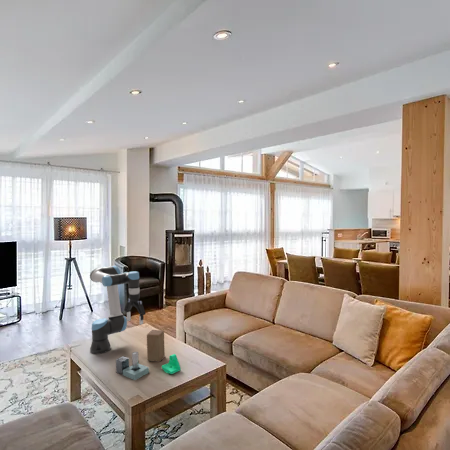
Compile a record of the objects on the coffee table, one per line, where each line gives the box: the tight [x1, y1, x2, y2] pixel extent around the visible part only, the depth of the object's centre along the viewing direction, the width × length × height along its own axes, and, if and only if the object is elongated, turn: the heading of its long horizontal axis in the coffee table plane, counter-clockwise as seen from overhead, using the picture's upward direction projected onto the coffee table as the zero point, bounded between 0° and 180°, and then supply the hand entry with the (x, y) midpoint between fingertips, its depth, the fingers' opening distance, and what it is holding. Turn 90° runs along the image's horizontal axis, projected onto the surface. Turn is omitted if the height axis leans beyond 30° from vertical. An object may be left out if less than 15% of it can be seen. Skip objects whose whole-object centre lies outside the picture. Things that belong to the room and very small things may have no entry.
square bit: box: [115, 355, 130, 376], centre depth 220 cm, size 6×6×9 cm
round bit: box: [131, 351, 140, 371], centre depth 217 cm, size 4×4×14 cm
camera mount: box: [161, 353, 182, 375], centre depth 221 cm, size 12×8×10 cm, turn 45°
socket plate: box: [122, 363, 150, 381], centre depth 217 cm, size 12×12×4 cm
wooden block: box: [146, 329, 166, 363], centre depth 239 cm, size 10×10×20 cm
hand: (135, 322), depth 234 cm, fingers open, 13 cm apart
